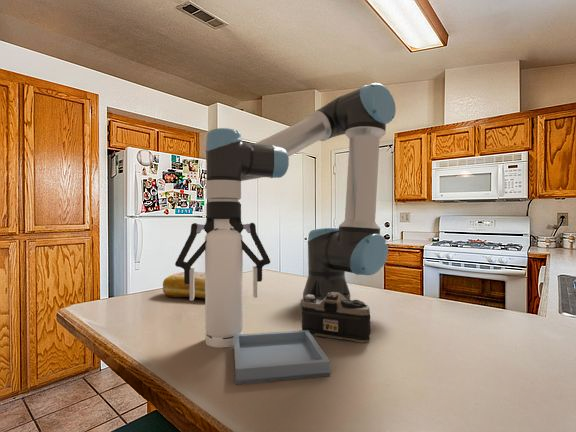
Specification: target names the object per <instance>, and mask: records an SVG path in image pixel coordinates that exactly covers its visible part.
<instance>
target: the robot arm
mask: <svg viewBox="0 0 576 432" xmlns="http://www.w3.org/2000/svg"><path fill="white" fill-rule="evenodd" d="M396 108H397V107H396V103H395V100H394V96H393V95H392V94H391V91H390V90H389V89H388V88H387V86H385V85H383V84H381V83H378V82H374V83H370V84H366V85H363V86H361V87H360V88H357V89H354V90H352V91H350V92H347V93H345V94H342V95H340V96H338V97H336V98H334V99H333V100H331V101H330V102H327V104H325V105H323V106H321V107H320V108H318V109H317V110H314V111H313V112H311V113H310V114H309V115H308V117H307V118H305V119H303V120H301V121H298V122H297V123H295V124H293V125H291V126H288V127H286V128H285V129H282V130H280V131H279V132H276V133H274V134H272V135H270V136H268V137H266V138H264V139H261V140H260V141H257V142H255V143H251V142H246V141H242V139H243V138H242V133H241V132H240V131H239V130H237V129H236V130H235V129H233V128H229V127H228V128H227V127H221V128H220V127H219V128H218V127H217V128H213V129H211V130H209V131H208V132H207V134H206V141H205V142H206V143H205V161H206V162H205V166H206V167H205V168H206V181H205V191H206V194H205V198H206V199H207V200H208V202H207V203H205V205H206V209H205V210H206V211H205V212H206V213H205V215H206V218H205V223H204V224H200V223H197V222H194V223H192V224H191V225H190V234H189V236H188V237H187V239H186V241H185V243H184V246H182V249H181V251H180V253H179V255H178V257H177V259H176V261H175V264H174V265H175V267H177V268H181V269H183V272H184V283H185V284H190V297H189V302H190V301H194V300H195V298H196V297H195V292H194V272H195V267H192V266H193V265H194V264H195V263H196V262H197V260H198V259H199V258H200V257H201V256H202V254H203V253H205V249H206V242H207V240H206V241H205V240H204V242H203V243H202V244H201V245H200V246H199V248H198V249H197V250H196V251H195V252H194V254H193V255H192V256H191V257H190V258H189V260H187V261H185V259H186V257H187V256H188V253H189V251H190V249H191V247H192V245H193V243H194V241H195V240H196V237H197V236H198V234H201V232H202V230H203V231H204V232H205V233H206V234H207V233H209V232H210V231H212V230H214V219H229V223H230V225H231V226H232V227H234V230H236V231H238V232H239V233H241V234H242V232H243V230H245V231H246V232H247V233H248V234H250V237H251V238H252V240H253V243H254V245H256V248H257V251H259V252H258V253H259V254H260V256H261V258H262V259H259V258H258V257H257V256H256V254H255V253H254V252H253V251H252V249H250V248H249V246H248V245H247V244H246V243H245V242H244V241H243V239H242V240H241V243H242V249H243V252H244V253H245V254H246V255H247V256H248V257H249V259H250V260H251V261H252V262H253V264H255V265H254V266H253V265H252V296H253V298H254V299H257V298H258V282H262V281H263V268H264V266H267V265H270V264H271V259H270V257H269V256H268V255H269V254H268V253H267V252H266V250H265V247H264V245H263V244H262V242H261V240H260V238H259V236H258V233H257V227H256V224H255V223H254V222H250V223H245V224H244V223H243V222H242V204H241V202H240V201H239V200H242V182H244V181H248V180H250V181H251V180H257V179H260V178H261V179H262V178H270V179H275V178H277V179H279V178H282V177H283V176H285V175H286V174H287V171H288V169H289V165H290V164H289V163H290V162H289V161H290V156H293V155H294V154H296V153H298V152H300V151H303V150H304V149H305V148H308V147H309V146H312V145H314V144H315V143H317V142H319V141H320V142H326V141H327V140H329V139H332V138H335V137H339V136H343V135H345V136H346V137H347V138H348V139H349V141H348V142H349V143H348V145H349V146H348V148H349V149H348V156H347V157H348V160H347V176H346V177H347V179H346V191H345V192H346V193H345V196H346V197H345V208H344V209H345V210H344V212H345V213H344V221H342V222H341V223H340V224H339V225H338V227H335V226H334V227H324V228H315V229H311V230H310V231H309V233H308V238H307V260H308V261H307V262H308V263H307V265H308V266H307V268H308V273H307V274H308V275H307V279H306V282H305V285H304V289H303V291H302V301H303V300H304V298H305V296H306V295H308V294H310V295H314V297H315V299H316V300H323V299H324V298H326V297H327V294H328V293H331V292H339V293H341V294H342V295H343V296H344V297H345V298H346V299H347V300H351V291H350V289H349V286H348V283H347V282H348V281H347V279H346V276H345V274H346V273H351V274H355V275H357V276H359V275H360V276H372V275H375V274H376V273H378V272H379V271H381V269H382V268H383V267H384V266H385V264H386V261H387V259H388V257H389V256H388V255H389V247H388V245H389V244H388V242H387V240H386V238H385V237H384V236H383V235H381V227H380V226H379V225H378V224H377V222H376V210H377V193H378V192H377V191H378V179H379V178H378V173H379V157H380V155H379V154H380V141H381V139H382V138H383V137H384V136H385V135H386V127H387V124H389V123H390V122H392V121H393V119H394V118H395V117H396ZM215 230H218V229H217V228H216V229H215ZM215 230H214V231H215ZM230 230H233V229H232V228H230Z"/></svg>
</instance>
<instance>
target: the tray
mask: <svg viewBox="0 0 576 432" xmlns="http://www.w3.org/2000/svg"><path fill="white" fill-rule="evenodd" d="M233 338H234V346H233V355H234V358H233V359H234V377H235V378H234V379H235V380H234V381H235V385H247V384H256V383H266V382H267V383H268V382H277V381H289V380H300V379H301V380H302V379H311V378H313V379H314V378H321V377H330V376H331V361H330V359H329V358H328V356H327V355H326V353H325V351H324V350H323V349H322V348H321V345H319V343H318V342H317V340H316V338H314V335H311V333H310V332H309V330H302V329H301V330H288V331H287V330H284V331H272V332H271V331H269V332H268V331H267V332H257V333H256V332H255V333H253V332H252V333H243V334H238V335H234V336H233Z"/></svg>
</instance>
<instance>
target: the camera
mask: <svg viewBox="0 0 576 432" xmlns="http://www.w3.org/2000/svg"><path fill="white" fill-rule="evenodd" d="M301 330H309V332H310V333H311V335H312V336H313V337H323V338H328V339H329V338H330V339H331V338H332V339H336V340H346V341H351V342H354V343H361V344H366V343H369V342H370V338H371V337H370V335H371V334H372V333H371V332H372V329H371V310H370V306H369V305H368V304H366V303H365V302H364V301H361V300H359V299H353V300H352V299H350V300H347V299H346V298H345V297H344V296H343V295H342V294H341V293H339V292H331V293H328V294H327V297H326V298H324V299H323V300H316V299H315V297H314V295H310V294H308V295H306V296H305V298H304V300H303V299H302V302H301Z"/></svg>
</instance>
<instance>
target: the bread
mask: <svg viewBox="0 0 576 432" xmlns="http://www.w3.org/2000/svg"><path fill="white" fill-rule="evenodd" d="M162 292H163V294H164V295H165V296H167V297H171V298H190V284H185V283H184V271H182V272H177V273H173V274H171V275H169V276H168V277H167V276H166V278H164V280H163V281H162ZM194 292H195V297H194V298H199V299H205V272H203V271H194Z"/></svg>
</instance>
